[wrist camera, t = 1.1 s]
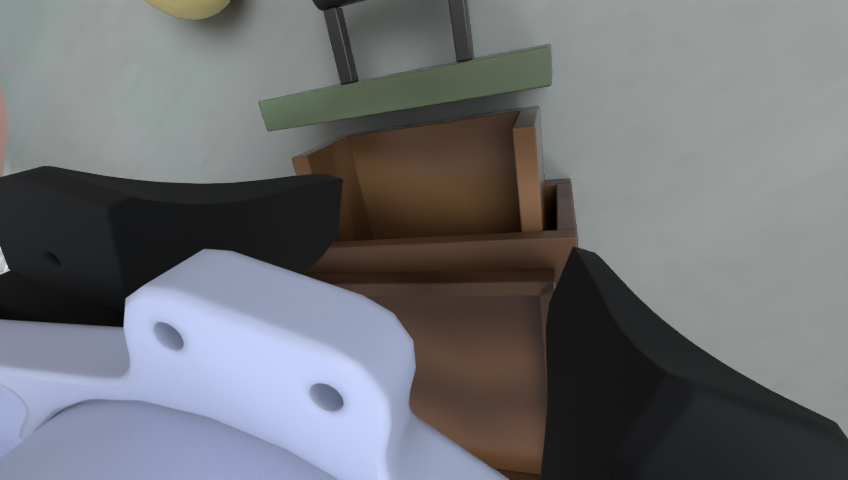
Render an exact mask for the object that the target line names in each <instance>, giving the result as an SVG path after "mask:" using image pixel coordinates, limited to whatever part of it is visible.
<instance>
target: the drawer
mask: <svg viewBox="0 0 848 480" xmlns="http://www.w3.org/2000/svg"><path fill="white" fill-rule="evenodd" d="M361 1H365V0H313V2H314V4H315V5H316V7H317V8H318V9H319V10H321V11H324V16H325V20H326V24H327V28H328V32H329V36H330V41H331V45H332V49H333V53H334V57H335V61H336V65H337V69H338V73H339V77H340V81H341V84H340V85H335V86H329V87H324V88H319V89H315V90H310V91H305V92H301V93H296V94H291V95H287V96H282V97H277V98H273V99H268V100H263V101H259V102H258V103H259V107H260V110H261V113H262V116H263V119H264V122H265V125H266V128H267V131H275V130H281V129H287V128H294V127H300V126H306V125H312V124H318V123H324V122H331V121H337V120H343V119H349V118H355V117H362V116H368V115H374V114H380V113H386V112H392V111H399V110H405V109H411V108H417V107H423V106H429V105H436V104H442V103H448V102H454V101H460V100H467V99H473V98H479V97H485V96H491V95H497V94H504V93H510V92H516V91H522V90H528V89H534V88H541V87H547V86H551V84H552V58H551V45H550V44H546V45H541V46H536V47H530V48H525V49H520V50H515V51H510V52H505V53H499V54H494V55H489V56H484V57H479V58H474V52H473V43H472V35H471V27H470V19H469V10H468V2H467V0H448V2H449V9H450V16H451V23H452V31H453V38H454V45H455V53H456V60H457V62H453V63H448V64H443V65H438V66H433V67H427V68H422V69H417V70H412V71H407V72H402V73H396V74H391V75H386V76H381V77H376V78H371V79H366V80H360V81H358V76H357V72H356V67H355V63H354V58H353V54H352V50H351V45H350V41H349V36H348V32H347V28H346V23H345V19H344V15H343V10H342V8H338V7H342V6H346V5H350V4H353V3H357V2H361ZM292 162H293V166H294V169H295V172H296V175H297V176H298V175H307V174H327V175H331V176H334V177H338V178H341V179H343V186H342V196H341V207H340V217H339V228H338V236H337V237H336V239H335V240H334V242H343V241H362V240H382V239H401V238H420V237H439V236H459V235H478V234H497V233H517V232H536V231H548V225H547V210H546V195H545V180H544V165H543V150H542V134H541V119H540V107H539V106H534V107H527V108H520V109H514V110H507V111H500V112H493V113H487V114H480V115H473V116H466V117H460V118H453V119H446V120H439V121H433V122H426V123H419V124H412V125H406V126H399V127H392V128H385V129H379V130H372V131H365V132H358V133H352V134H345V135H341V136H339V137H336V138H334V139H332V140H330V141H328V142H326V143H323V144H321V145H319V146H317V147H315V148H312V149H310V150H308V151H306V152H304V153H301V154H299V155H297V156H295V157H293V158H292Z"/></svg>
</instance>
